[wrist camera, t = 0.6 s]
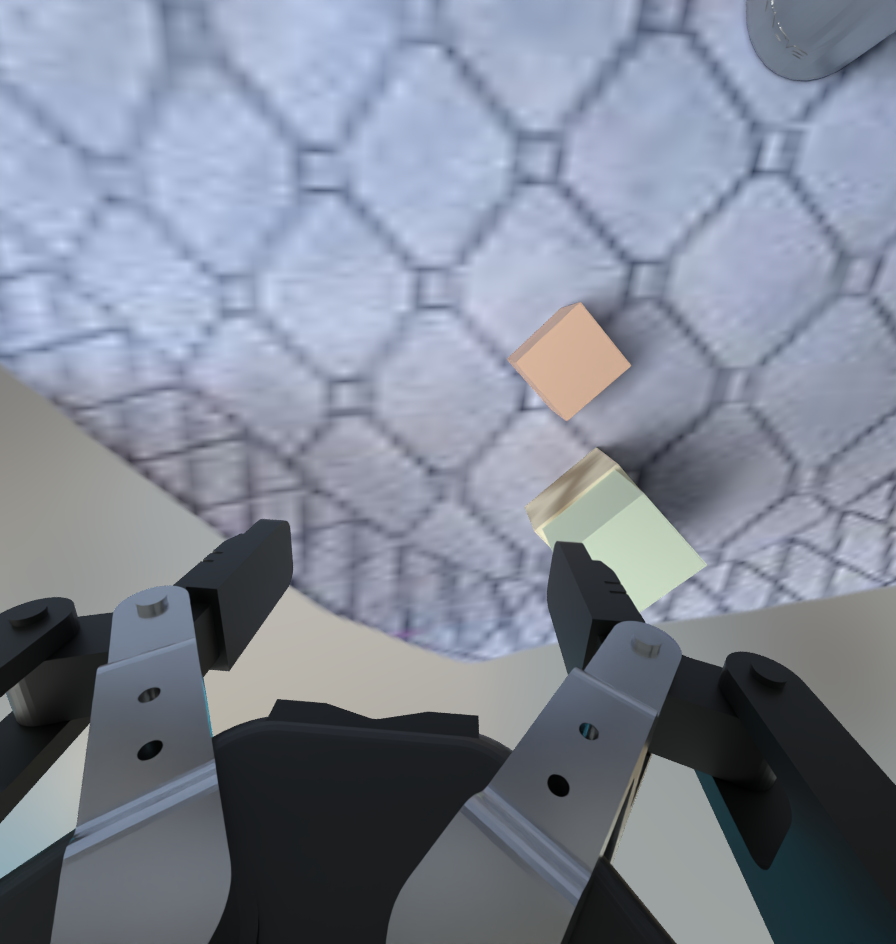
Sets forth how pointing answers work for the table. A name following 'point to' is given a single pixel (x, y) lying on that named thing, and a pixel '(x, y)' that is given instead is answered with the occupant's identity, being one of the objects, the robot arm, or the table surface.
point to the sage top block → (627, 539)
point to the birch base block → (570, 489)
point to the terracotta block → (569, 360)
